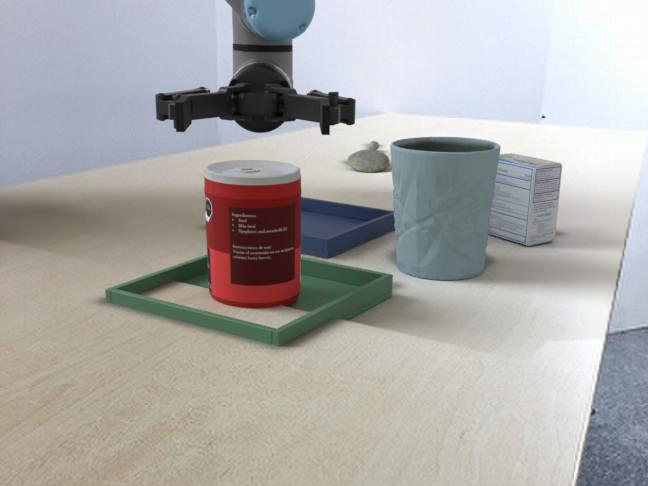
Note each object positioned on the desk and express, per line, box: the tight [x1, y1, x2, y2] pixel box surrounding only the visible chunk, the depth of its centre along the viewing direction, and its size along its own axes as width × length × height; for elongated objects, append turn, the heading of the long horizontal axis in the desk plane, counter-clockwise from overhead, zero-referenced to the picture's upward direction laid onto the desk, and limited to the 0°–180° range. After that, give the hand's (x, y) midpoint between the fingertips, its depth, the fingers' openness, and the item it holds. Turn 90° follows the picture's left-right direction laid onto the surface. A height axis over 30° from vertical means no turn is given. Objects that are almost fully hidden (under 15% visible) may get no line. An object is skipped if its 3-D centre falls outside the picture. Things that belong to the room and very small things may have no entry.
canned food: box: [203, 159, 302, 309], centre depth 70 cm, size 8×8×11 cm
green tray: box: [104, 254, 394, 347], centre depth 72 cm, size 17×17×2 cm
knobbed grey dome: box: [347, 140, 390, 173], centre depth 140 cm, size 22×3×7 cm
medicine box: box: [488, 152, 563, 247], centre depth 94 cm, size 8×4×9 cm, turn 34°
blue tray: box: [301, 196, 395, 259], centre depth 95 cm, size 15×15×2 cm
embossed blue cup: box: [389, 136, 501, 281], centre depth 81 cm, size 10×10×12 cm
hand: (253, 118), depth 79 cm, fingers open, 13 cm apart
